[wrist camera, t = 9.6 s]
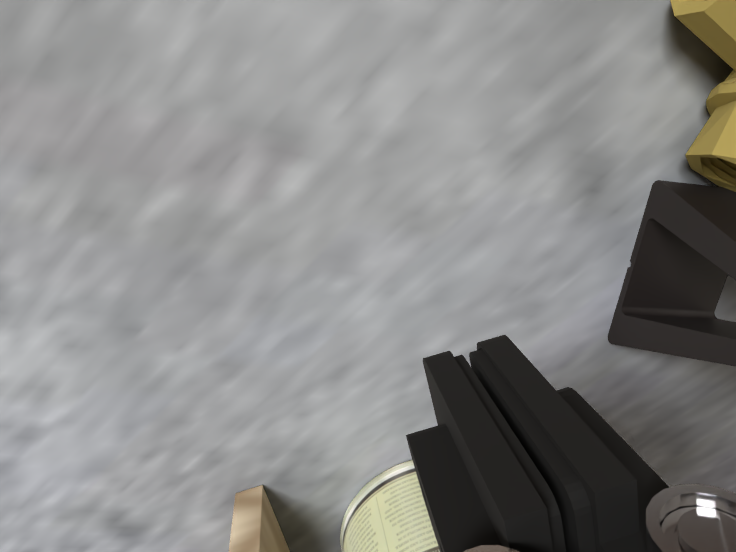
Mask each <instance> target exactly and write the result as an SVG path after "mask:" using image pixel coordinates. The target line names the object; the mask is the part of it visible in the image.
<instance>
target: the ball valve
mask: <svg viewBox="0 0 736 552" xmlns="http://www.w3.org/2000/svg"><path fill="white" fill-rule="evenodd" d="M670 1H671V4H672V8H673V12H674V16H675V17H676V18H677V19H678V20H679V21H681V22H682V23H683V24H684V25H685V26H686V27H687V28H688V29H689V30H691V31H692V32H693V33H694V34H695V35H696V36H697V37H698V38H699V39H701V40H702V41H703V42H704V43H705V44H706V45H707V46H708V47H709V48H711V49H712V50H713V51H714V52H715V53H716V54H717V55H718V56H719V57H720V58H722V59H723V60H724V61H725V62H726V63H727V64H728V65H729V66H730V67H732V68H733V69H734V70H733V71H732V72H731V73H730V74H729V76H728V77H727V78H726V79H725V81H724V82H722V83H720V84H718V85H717V86H716V87H715V88H714V89H712V90H711V92H710V94H709V96H708V98H707V100H706V107H707V109H708V112H709V114H710V118H709V120H708V121H707V123H706V124H705V126H704V127H703V129H702V130H701V132H700V133H699V135H698V136H697V138H696V139H695V141H694V142H693V144H692V146H691V147H690V149H689V150H688V152H687V153H686V155H685V156H686V158H687V160H688V163H689V165H690V168H691V169H693V170H694V171H696V172H698V173H699V174H701V175H702V176H704V177H705V178H707V179H708V180H710V181H712V182H713V183H715V184H716V185H718V186H721V187H723V188H726V189H729V190H731V191H734V192H736V0H670Z"/></svg>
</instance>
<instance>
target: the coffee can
mask: <svg viewBox="0 0 736 552" xmlns="http://www.w3.org/2000/svg"><path fill="white" fill-rule="evenodd" d="M340 543H341V548H342V552H440V550H439V546H438V543H437V540H436V537H435V534H434V531H433V527H432V524H431V521H430V518H429V515H428V511H427V508H426V505H425V502H424V498H423V495H422V492H421V488H420V485H419V481H418V478H417V474H416V471H415V467H414V463H413V460H410V461H407V462H404V463H401V464H398V465H396V466H394V467H392V468H390V469H388V470H386V471H384V472H383V473H381V474H380V475H378V476H376V477H375V478H374V479H372V480H371V481H370V482H369V483H367V484H366V485H365V486H364V487H363V488H362V489H361V490H360V492H359V493H358V494H357V496H356V497H355V498H354V499H353V500H352V502H351V503H350V505H349V507H348V509H347V511H346V513H345V516H344V519H343V522H342V526H341V534H340Z"/></svg>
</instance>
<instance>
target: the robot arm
mask: <svg viewBox="0 0 736 552" xmlns="http://www.w3.org/2000/svg"><path fill="white" fill-rule="evenodd" d="M469 357H470V363H471V367H470V365H469V364H468V362H467V361H466V359H465V358H464V356H463V355H460V356H456V357H454V356H453V354H452V353H451V352H450V351H447V352H443V353H440V354H437V355H433V356H430V357H426V358H423V364H424V369H425V373H426V377H427V381H428V385H429V389H430V394H431V398H432V402H433V406H434V410H435V415H436V419H437V423H438V426H435V427H432V428H428V429H425V430H422V431H418V432H415V433H412V434H408V435H406V437H407V441H408V445H409V449H410V452H411V456H412V460H413V463H414V467H415V471H416V474H417V478H418V481H419V485H420V488H421V492H422V495H423V498H424V502H425V505H426V508H427V511H428V515H429V518H430V521H431V524H432V527H433V531H434V534H435V537H436V540H437V543H438V546H439V550H440V552H736V493H733V492H730V491H728V490H725V489H722V488H719V487H714V486H708V485H702V484H679V485H676V486H672V487H669V486H668V485H667V484H666V483H665V482H664V481H663V480H662V479H661V478H660V477H659V476H658V475H657V474H656V473H655V472H654V471H653V470H652V469H651V468H650V467H649V466H648V465H647V464H646V463H645V462H644V461H643V460H642V459H641V458H640V457H639V456H638V454H637V453H636V452H635V451H634V450H633V449H632V448H631V447H630V446H629V445H628V444H627V443H626V442H625V441H624V440H623V439H622V438H621V437H620V436H619V435H618V434H617V433H616V432H615V431H614V430H613V429H612V428H611V427H610V426H609V425H608V424H607V423H606V422H605V421H604V419H603V418H602V417H601V416H600V415H599V414H598V413H597V412H596V411H595V410H594V409H593V408H592V407H591V406H590V405H589V404H588V403H587V402H586V401H585V400H584V399H583V398H582V397H581V396H580V395H579V394H578V393H577V392H576V391H575V390H573V389H572V388H569V387H567V388H563V389H560V390H557V391H556V390H555V389H554V388H553V387H552V386H551V384H550V383H549V382H548V381H547V380H546V379H545V378H544V377H543V376H542V374H541V373H540V372H539V371H538V370H537V369H536V368H535V367H534V366H533V364H532V363H531V362H530V361H529V360H528V359H527V358H526V357H525V356H524V355H523V353H522V352H521V351H520V350H519V349H518V348H517V347H516V346H515V345H514V343H513V342H512V341H511V340H510V339H509V338H508V337H507V336H506V335H502V336H499V337H495V338H492V339H488V340H485V341H481V342H478V343H477V351H473V352H470V354H469Z"/></svg>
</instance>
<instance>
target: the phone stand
mask: <svg viewBox="0 0 736 552" xmlns="http://www.w3.org/2000/svg"><path fill="white" fill-rule="evenodd" d="M630 261H631V263H632V264H631V267H629V268H628V269H627V273H626V276H625V279H624V283H623V286H622V290H621V293H620V296H619V300H618V303H617V307H616V310H615V313H614V317H613V320H612V323H611V327H610V330H609V334H608V340H609V342H610V343H611V344H615V345H621V346H626V347H632V348H638V349H643V350H649V351H654V352H660V353H665V354H671V355H676V356H682V357H687V358H693V359H698V360H704V361H709V362H715V363H720V364H726V365H731V366H736V322H730V321H725V320H719V319H717V318H716V317H715V314H714V311H715V308H716V305H717V303H718V300H719V297H720V294H721V292H722V289H723V286H724V283H725V281H726V278H727V275H730V276H731V277H732V278H734V279H735V280H736V192H734V191H731V190H729V189H726V188H723V187H715V186H706V185H696V184H687V183H678V182H669V181H659V180H658V181H656V182H654V184H653V185H652V188H651V191H650V195H649V198H648V202H647V205H646V208H645V212H644V215H643V219H642V222H641V225H640V229H639V232H638V235H637V239H636V242H635V246H634V249H633V252H632V256H631V259H630Z"/></svg>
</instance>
